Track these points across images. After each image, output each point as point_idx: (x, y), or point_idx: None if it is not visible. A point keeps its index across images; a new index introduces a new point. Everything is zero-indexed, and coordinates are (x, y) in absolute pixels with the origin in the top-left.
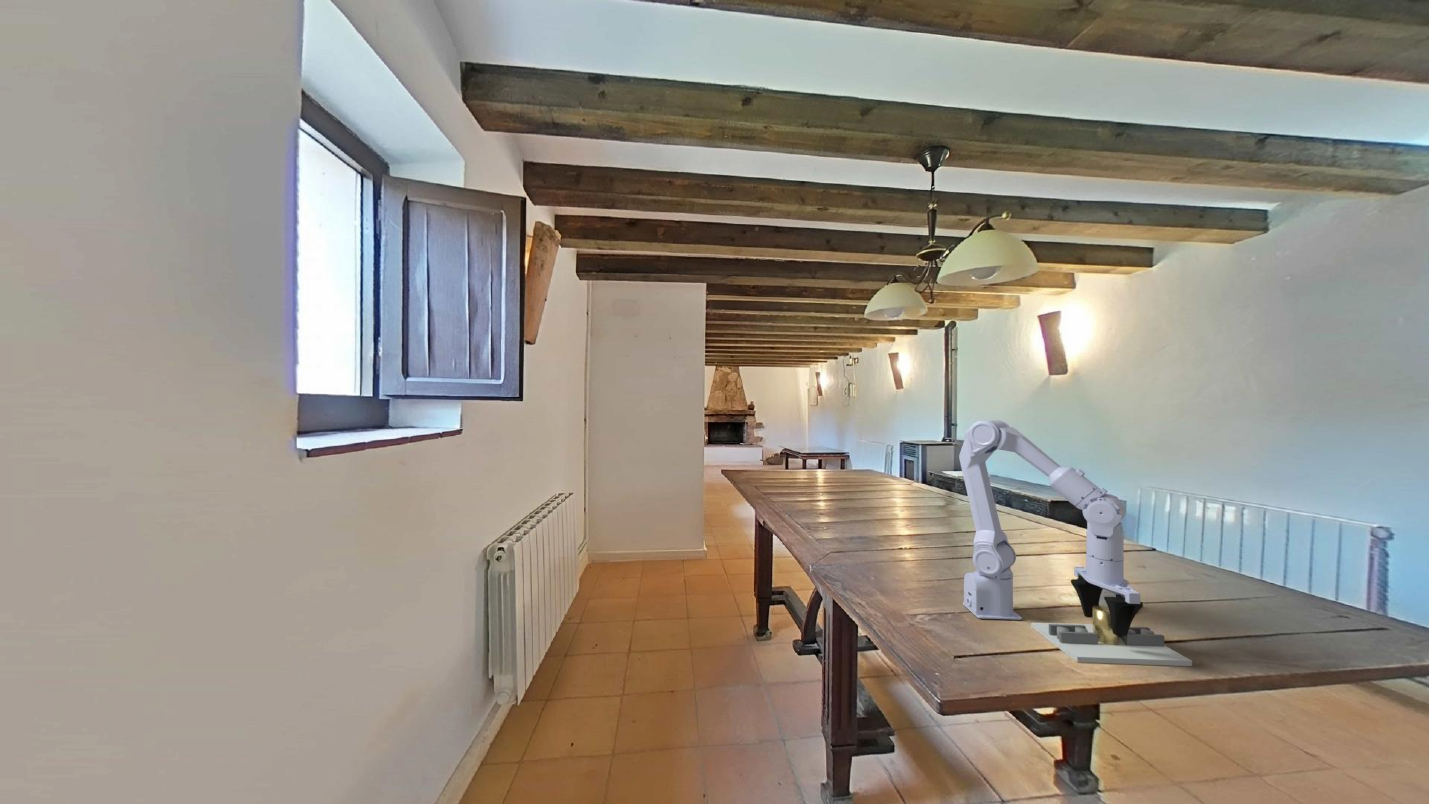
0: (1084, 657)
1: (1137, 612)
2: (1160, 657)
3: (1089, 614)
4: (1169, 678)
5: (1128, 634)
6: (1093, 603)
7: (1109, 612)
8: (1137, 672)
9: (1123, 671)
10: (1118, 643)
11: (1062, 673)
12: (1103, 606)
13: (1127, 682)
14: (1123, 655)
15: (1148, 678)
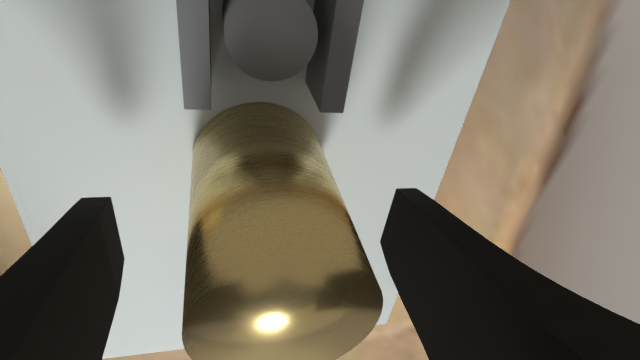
0: (391, 307)
1: (618, 316)
2: (483, 3)
3: (118, 263)
4: (556, 89)
5: (338, 99)
6: (71, 320)
7: (345, 323)
8: (481, 177)
9: (459, 217)
10: (313, 130)
11: (418, 351)
12: (207, 312)
13: (506, 244)
14: (415, 184)
15: (520, 169)
